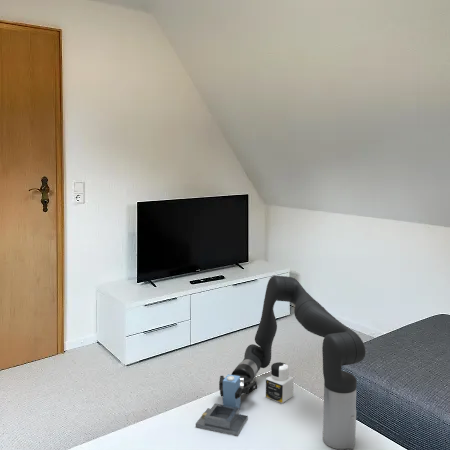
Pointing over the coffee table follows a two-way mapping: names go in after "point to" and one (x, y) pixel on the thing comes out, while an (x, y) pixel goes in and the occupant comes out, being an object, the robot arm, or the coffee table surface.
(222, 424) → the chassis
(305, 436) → the coffee table surface
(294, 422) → the coffee table surface
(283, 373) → the medicine bottle
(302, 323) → the robot arm
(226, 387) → the blue tall box
